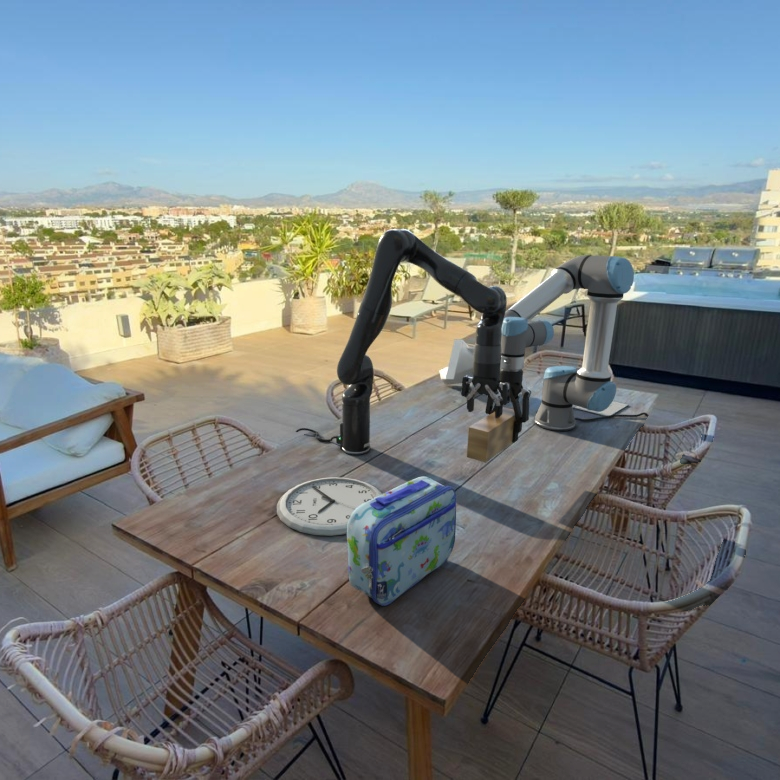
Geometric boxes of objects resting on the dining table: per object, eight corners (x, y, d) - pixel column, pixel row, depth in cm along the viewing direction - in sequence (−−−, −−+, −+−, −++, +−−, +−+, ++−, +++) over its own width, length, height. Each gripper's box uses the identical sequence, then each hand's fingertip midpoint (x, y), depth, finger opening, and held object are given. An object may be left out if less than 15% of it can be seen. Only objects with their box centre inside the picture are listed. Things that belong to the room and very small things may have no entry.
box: (500, 434, 171) (502, 406, 168) (518, 439, 167) (520, 411, 164) (466, 457, 154) (468, 426, 151) (485, 462, 150) (488, 432, 147)
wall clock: (392, 527, 129) (268, 531, 127) (391, 533, 130) (269, 537, 127) (383, 473, 158) (282, 475, 155) (383, 478, 158) (282, 480, 156)
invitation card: (608, 416, 214) (573, 407, 224) (608, 416, 214) (573, 408, 224) (628, 404, 229) (594, 396, 238) (628, 405, 229) (594, 397, 238)
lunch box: (376, 619, 101) (377, 524, 95) (340, 592, 109) (339, 502, 102) (459, 562, 119) (465, 479, 113) (424, 542, 126) (427, 463, 120)
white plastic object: (461, 429, 252) (437, 405, 227) (444, 352, 274) (420, 323, 250) (535, 404, 240) (518, 377, 215) (510, 326, 262) (492, 293, 237)
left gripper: (458, 358, 147) (456, 412, 152) (505, 366, 139) (501, 423, 144) (471, 353, 153) (468, 406, 157) (516, 360, 145) (512, 415, 149)
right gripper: (476, 365, 162) (472, 434, 169) (536, 376, 151) (528, 449, 158) (487, 361, 168) (482, 428, 175) (545, 371, 157) (538, 442, 164)
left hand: (484, 414), depth 151 cm, fingers open, 8 cm apart
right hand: (504, 438), depth 166 cm, fingers closed on box, 6 cm apart
